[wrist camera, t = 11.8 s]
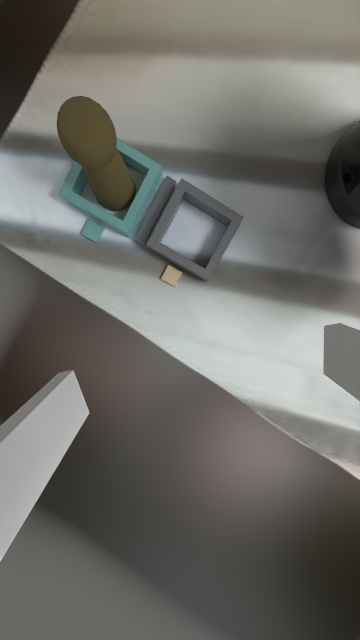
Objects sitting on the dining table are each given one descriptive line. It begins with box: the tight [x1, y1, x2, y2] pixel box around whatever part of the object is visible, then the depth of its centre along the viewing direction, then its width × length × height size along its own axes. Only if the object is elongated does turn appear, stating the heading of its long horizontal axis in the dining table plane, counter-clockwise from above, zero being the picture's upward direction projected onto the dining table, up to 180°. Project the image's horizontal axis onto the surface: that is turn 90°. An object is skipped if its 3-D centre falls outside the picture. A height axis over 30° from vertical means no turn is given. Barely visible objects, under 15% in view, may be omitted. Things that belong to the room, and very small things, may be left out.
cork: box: [57, 96, 136, 211], centre depth 22 cm, size 6×6×11 cm
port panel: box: [59, 138, 244, 287], centre depth 28 cm, size 13×23×2 cm, turn 61°
